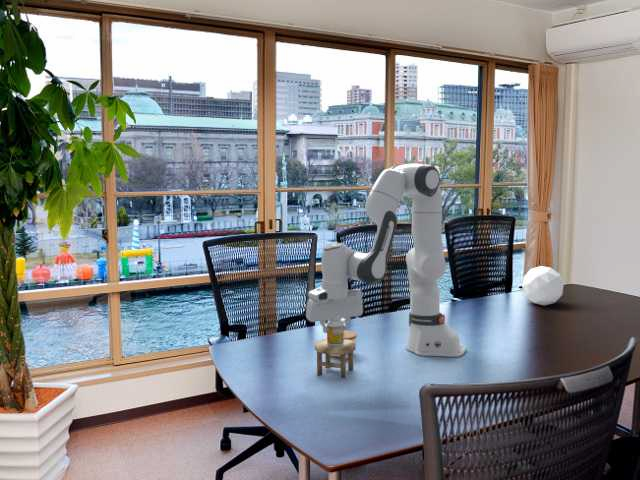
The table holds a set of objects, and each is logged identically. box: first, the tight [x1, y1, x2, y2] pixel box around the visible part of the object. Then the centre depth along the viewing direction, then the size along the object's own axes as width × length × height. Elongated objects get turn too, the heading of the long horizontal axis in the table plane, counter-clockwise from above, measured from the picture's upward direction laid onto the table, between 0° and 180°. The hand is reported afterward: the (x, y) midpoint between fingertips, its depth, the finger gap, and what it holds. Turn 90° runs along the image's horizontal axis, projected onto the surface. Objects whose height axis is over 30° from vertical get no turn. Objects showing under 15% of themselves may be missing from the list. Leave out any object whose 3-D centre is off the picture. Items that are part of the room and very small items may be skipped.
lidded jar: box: [344, 329, 358, 356], centre depth 229 cm, size 11×11×9 cm
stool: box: [314, 338, 357, 380], centre depth 209 cm, size 14×14×10 cm
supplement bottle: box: [326, 316, 344, 346], centre depth 208 cm, size 6×6×10 cm
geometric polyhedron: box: [522, 265, 565, 307], centre depth 303 cm, size 19×20×20 cm
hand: (335, 331), depth 208 cm, fingers closed on supplement bottle, 6 cm apart
